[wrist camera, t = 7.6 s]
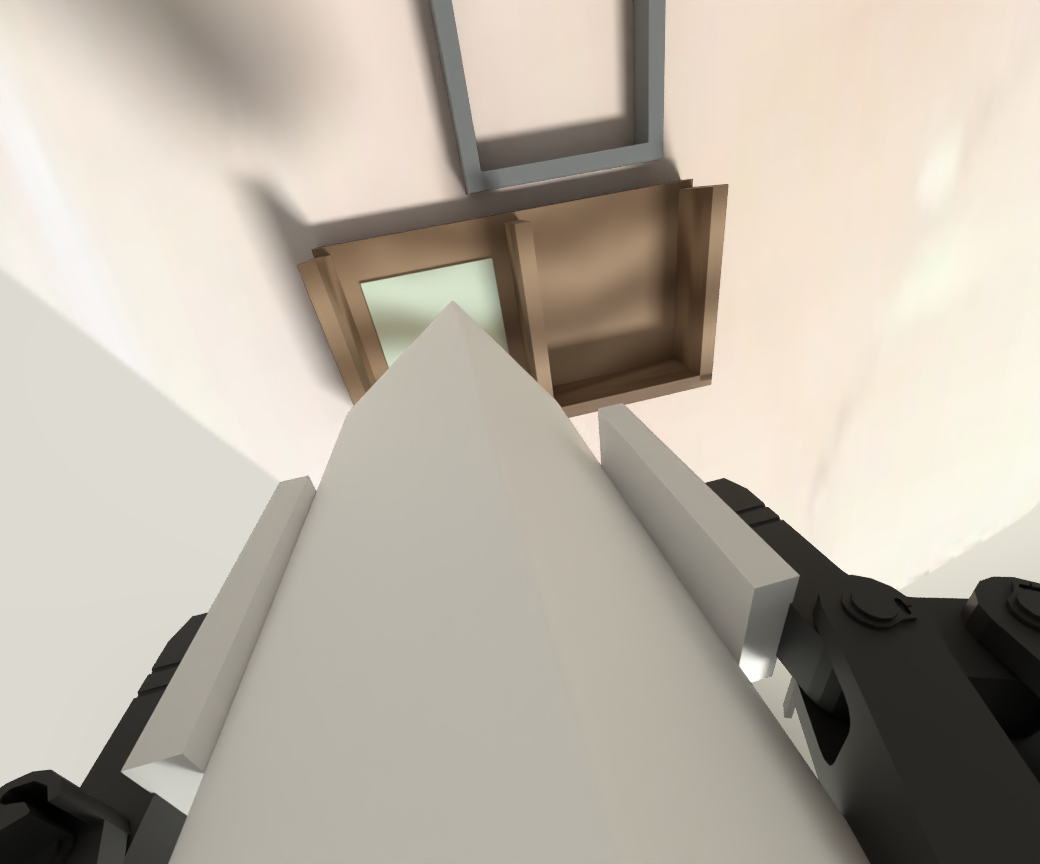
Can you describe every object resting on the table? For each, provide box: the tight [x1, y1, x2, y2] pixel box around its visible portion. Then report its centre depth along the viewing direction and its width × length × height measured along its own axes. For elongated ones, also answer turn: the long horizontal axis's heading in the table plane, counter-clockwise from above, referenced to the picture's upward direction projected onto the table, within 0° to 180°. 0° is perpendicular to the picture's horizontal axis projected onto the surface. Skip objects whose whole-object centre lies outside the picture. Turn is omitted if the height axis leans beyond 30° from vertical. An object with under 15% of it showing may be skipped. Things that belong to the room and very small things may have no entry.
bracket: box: [429, 0, 665, 194], centre depth 24 cm, size 12×13×2 cm
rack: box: [297, 179, 728, 418], centre depth 29 cm, size 14×26×6 cm, turn 99°
